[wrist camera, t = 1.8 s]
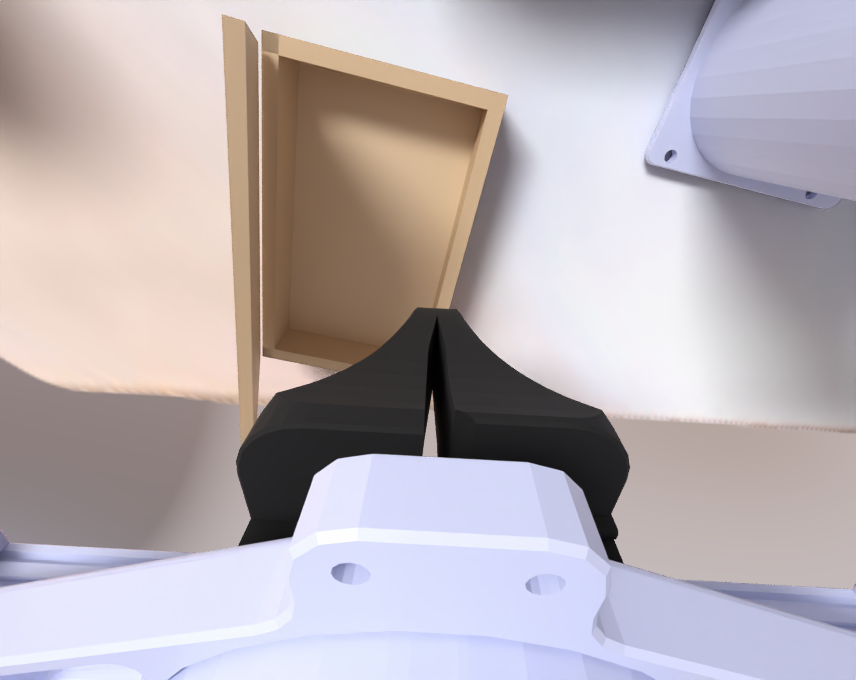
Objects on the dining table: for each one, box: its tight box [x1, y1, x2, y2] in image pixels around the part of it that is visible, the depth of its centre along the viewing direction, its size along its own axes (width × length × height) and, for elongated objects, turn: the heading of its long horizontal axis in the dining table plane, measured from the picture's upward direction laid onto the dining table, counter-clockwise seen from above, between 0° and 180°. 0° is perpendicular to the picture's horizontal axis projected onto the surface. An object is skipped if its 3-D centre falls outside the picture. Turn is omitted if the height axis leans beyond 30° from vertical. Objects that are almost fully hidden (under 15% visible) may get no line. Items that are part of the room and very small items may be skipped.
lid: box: [222, 15, 260, 446], centre depth 14 cm, size 8×13×1 cm
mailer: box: [262, 30, 508, 371], centre depth 18 cm, size 9×14×3 cm, turn 168°
